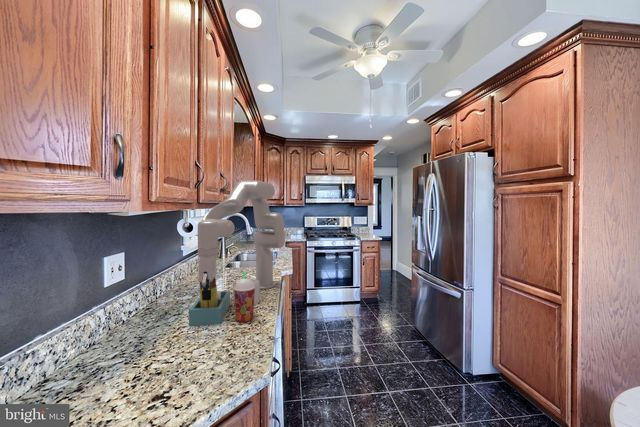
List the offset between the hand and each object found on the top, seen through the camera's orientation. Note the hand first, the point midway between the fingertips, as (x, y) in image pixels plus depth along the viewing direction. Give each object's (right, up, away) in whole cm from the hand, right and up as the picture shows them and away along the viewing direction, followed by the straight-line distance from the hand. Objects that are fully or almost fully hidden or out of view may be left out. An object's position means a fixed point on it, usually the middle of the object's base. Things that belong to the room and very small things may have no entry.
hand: (208, 296), depth 108 cm
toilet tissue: (+10, -10, +20) cm, 24 cm away
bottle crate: (-1, -10, +5) cm, 11 cm away
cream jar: (-2, -9, +10) cm, 13 cm away
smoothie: (+14, -10, 0) cm, 17 cm away
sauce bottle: (0, -7, 0) cm, 7 cm away
